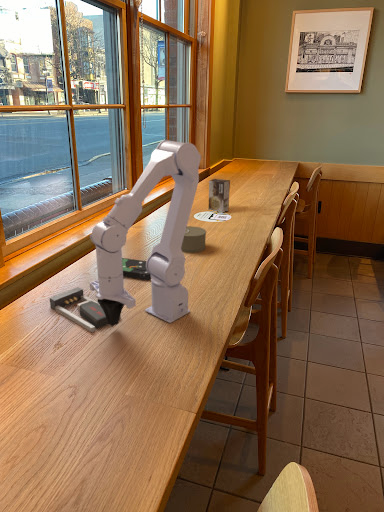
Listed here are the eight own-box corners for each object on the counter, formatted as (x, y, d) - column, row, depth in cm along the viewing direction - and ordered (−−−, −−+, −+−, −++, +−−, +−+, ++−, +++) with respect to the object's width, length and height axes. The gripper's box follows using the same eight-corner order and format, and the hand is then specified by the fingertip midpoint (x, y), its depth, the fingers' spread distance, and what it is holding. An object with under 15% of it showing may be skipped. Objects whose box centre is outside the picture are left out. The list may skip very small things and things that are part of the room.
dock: (120, 318, 101) (120, 308, 100) (91, 332, 94) (90, 321, 93) (79, 296, 112) (78, 286, 110) (50, 307, 105) (49, 297, 104)
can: (202, 254, 144) (203, 237, 142) (171, 251, 146) (171, 234, 144) (208, 244, 155) (208, 227, 153) (178, 241, 157) (178, 225, 155)
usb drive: (97, 330, 96) (96, 320, 95) (74, 311, 104) (73, 302, 103) (115, 323, 99) (114, 313, 98) (92, 305, 107) (91, 296, 106)
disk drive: (160, 270, 132) (120, 264, 135) (160, 262, 131) (120, 256, 134) (149, 282, 122) (106, 276, 126) (149, 274, 121) (106, 268, 125)
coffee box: (229, 211, 203) (230, 180, 197) (223, 213, 198) (224, 182, 192) (213, 208, 207) (215, 178, 202) (207, 211, 202) (208, 180, 196)
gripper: (77, 270, 92) (82, 320, 97) (117, 288, 83) (120, 342, 88) (101, 261, 97) (105, 309, 102) (141, 278, 88) (143, 329, 93)
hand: (113, 323), depth 95 cm, fingers closed
